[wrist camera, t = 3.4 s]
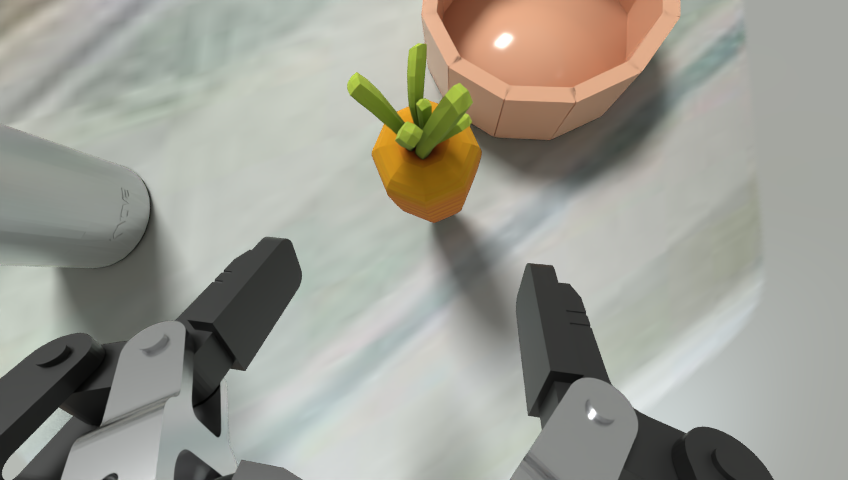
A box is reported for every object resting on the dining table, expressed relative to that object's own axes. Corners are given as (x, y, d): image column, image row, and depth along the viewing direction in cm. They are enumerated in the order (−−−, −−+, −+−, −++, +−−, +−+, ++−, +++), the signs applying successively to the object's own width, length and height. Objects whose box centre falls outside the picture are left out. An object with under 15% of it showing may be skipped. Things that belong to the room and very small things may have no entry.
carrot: (393, 208, 24) (294, 93, 9) (437, 164, 24) (411, -21, 9) (438, 252, 23) (409, 204, 8) (483, 206, 23) (535, 78, 8)
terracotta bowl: (420, 133, 24) (411, 96, 20) (439, -40, 26) (436, -114, 21) (630, 144, 23) (680, 106, 18) (635, -43, 25) (680, -124, 20)
